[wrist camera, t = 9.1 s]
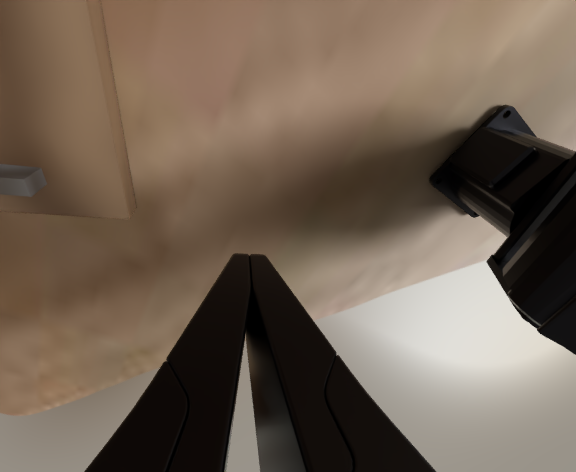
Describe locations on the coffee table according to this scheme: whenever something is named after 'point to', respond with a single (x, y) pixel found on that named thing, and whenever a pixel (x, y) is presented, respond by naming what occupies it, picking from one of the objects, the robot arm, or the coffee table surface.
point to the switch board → (60, 113)
